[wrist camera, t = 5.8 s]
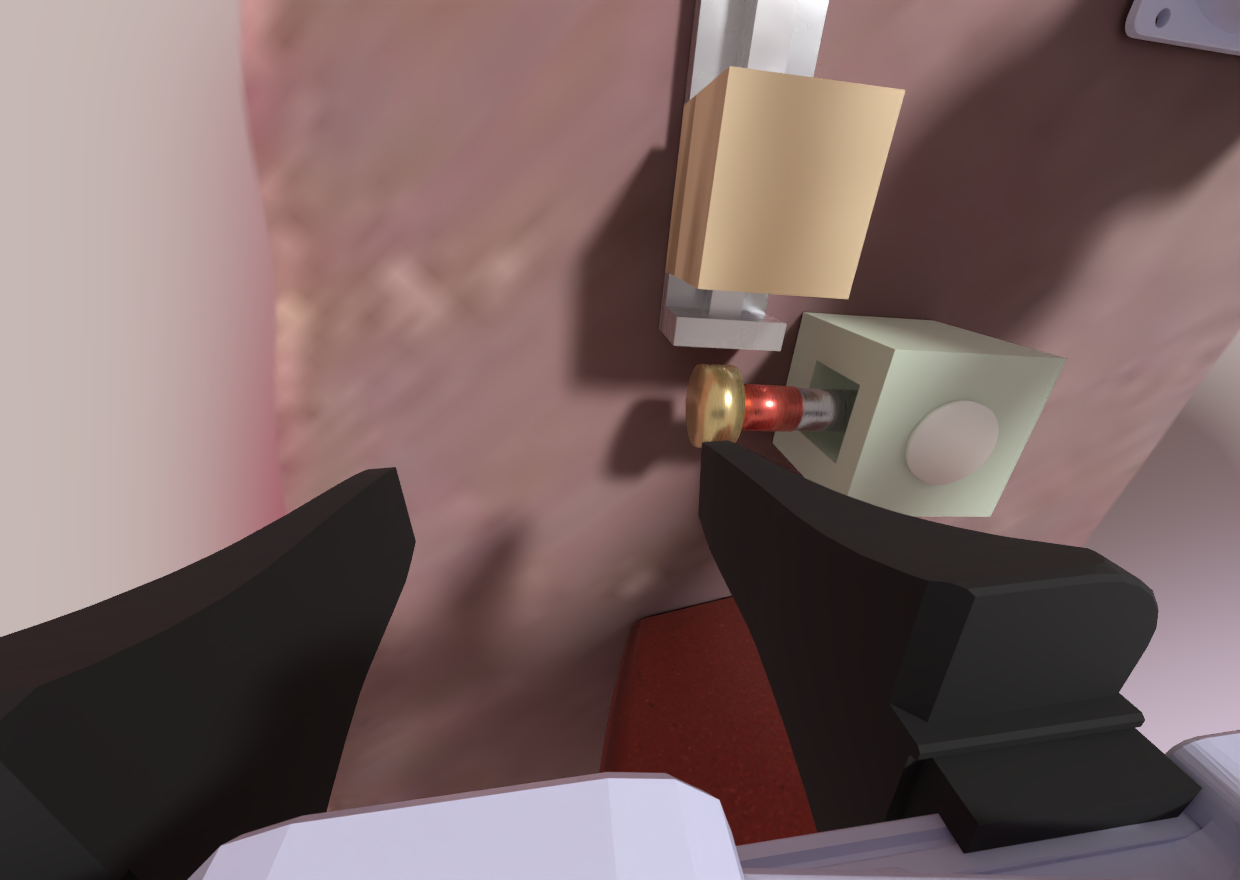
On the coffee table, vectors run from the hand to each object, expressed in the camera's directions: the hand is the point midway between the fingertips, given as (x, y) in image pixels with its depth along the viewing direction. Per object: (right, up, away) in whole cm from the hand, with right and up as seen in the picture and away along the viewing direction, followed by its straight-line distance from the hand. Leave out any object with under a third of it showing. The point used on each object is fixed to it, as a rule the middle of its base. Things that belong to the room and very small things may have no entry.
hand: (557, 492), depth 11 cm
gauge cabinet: (+12, +4, +10) cm, 16 cm away
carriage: (+6, +10, +5) cm, 12 cm away
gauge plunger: (+7, +3, +8) cm, 11 cm away
